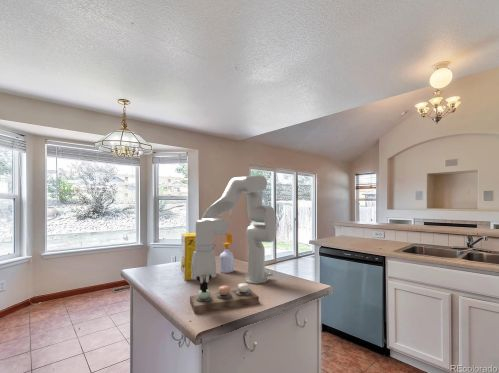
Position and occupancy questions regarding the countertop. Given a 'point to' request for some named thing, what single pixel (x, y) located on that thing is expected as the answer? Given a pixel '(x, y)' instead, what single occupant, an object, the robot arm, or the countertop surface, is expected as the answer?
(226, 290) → the button terracotta
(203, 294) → the button sage
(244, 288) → the button cream
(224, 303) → the console
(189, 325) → the countertop surface
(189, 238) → the packaging box
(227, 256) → the soap bottle
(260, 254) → the robot arm
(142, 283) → the countertop surface
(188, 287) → the countertop surface
